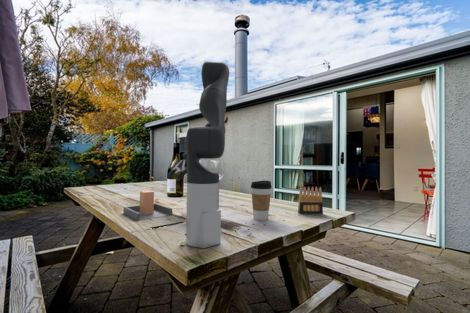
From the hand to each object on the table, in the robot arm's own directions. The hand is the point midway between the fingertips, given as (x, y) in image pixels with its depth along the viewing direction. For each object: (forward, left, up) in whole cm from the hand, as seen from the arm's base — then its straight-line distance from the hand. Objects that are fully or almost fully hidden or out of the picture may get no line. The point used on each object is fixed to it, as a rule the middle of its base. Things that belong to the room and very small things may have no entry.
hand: (172, 178), depth 110 cm
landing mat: (-15, +12, -15) cm, 24 cm away
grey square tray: (-1, +12, -15) cm, 19 cm away
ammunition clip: (-41, -46, -15) cm, 63 cm away
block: (0, +12, -14) cm, 18 cm away
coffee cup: (-33, -22, -15) cm, 42 cm away
